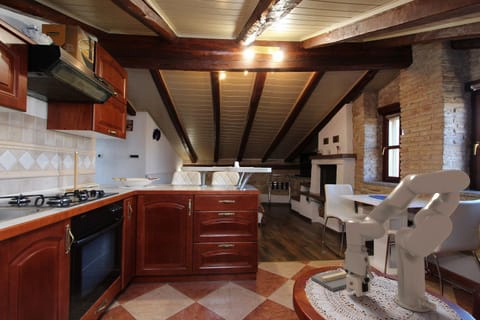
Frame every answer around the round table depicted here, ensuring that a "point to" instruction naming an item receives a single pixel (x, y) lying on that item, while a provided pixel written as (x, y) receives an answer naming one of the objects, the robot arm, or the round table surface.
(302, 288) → the round table surface
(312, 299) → the round table surface
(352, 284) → the cabinet block
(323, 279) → the mount board
